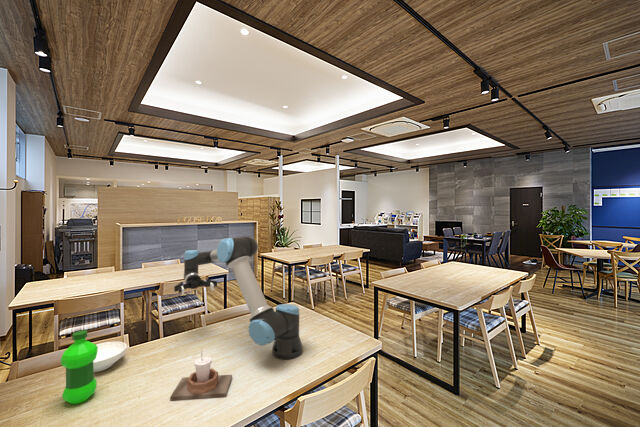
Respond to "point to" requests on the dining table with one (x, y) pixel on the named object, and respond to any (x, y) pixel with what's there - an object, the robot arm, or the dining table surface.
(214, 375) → the brown cup holder
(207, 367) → the smoothie
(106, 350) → the bowl
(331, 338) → the dining table surface
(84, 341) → the plastic bottle
